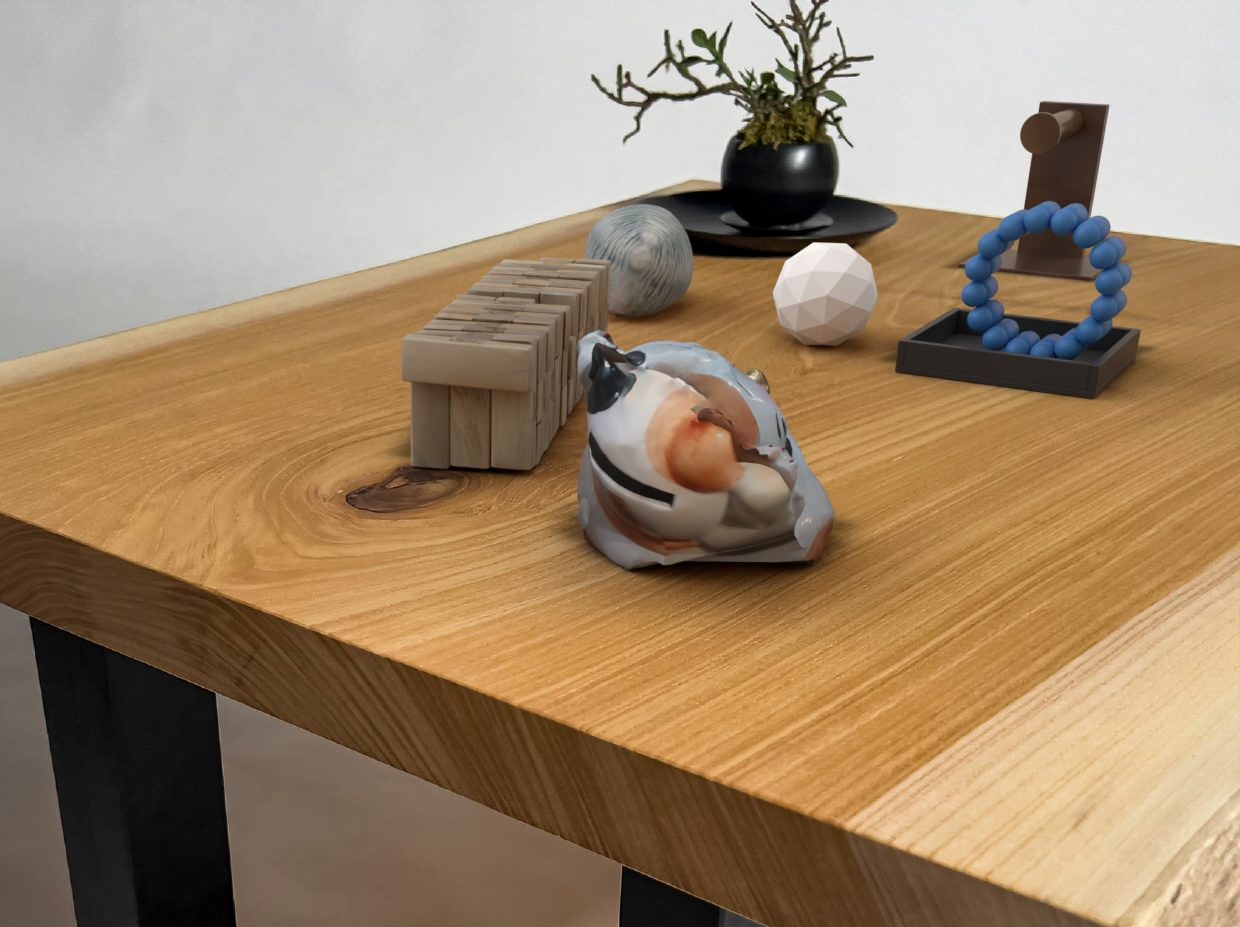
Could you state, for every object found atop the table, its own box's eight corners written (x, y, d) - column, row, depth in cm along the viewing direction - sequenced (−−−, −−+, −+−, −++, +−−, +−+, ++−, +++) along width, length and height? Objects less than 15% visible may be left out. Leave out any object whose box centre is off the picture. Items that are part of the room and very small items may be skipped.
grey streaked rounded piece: (584, 248, 143) (634, 151, 136) (676, 301, 143) (731, 207, 136) (542, 316, 133) (594, 216, 126) (642, 373, 134) (698, 276, 127)
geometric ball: (844, 379, 126) (911, 306, 120) (763, 351, 122) (827, 273, 117) (822, 313, 130) (885, 239, 124) (743, 283, 126) (804, 206, 121)
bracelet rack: (1114, 272, 151) (1144, 105, 144) (1084, 294, 142) (1115, 116, 135) (987, 259, 156) (1010, 98, 149) (951, 279, 147) (973, 108, 141)
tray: (1135, 359, 120) (1141, 329, 119) (1093, 399, 111) (1099, 365, 109) (949, 336, 127) (953, 307, 126) (894, 371, 117) (898, 340, 116)
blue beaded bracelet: (1099, 376, 118) (1159, 224, 112) (1083, 391, 115) (1144, 234, 109) (956, 329, 122) (1007, 180, 116) (937, 341, 119) (988, 188, 113)
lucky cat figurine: (885, 550, 83) (905, 345, 72) (715, 681, 80) (707, 487, 69) (688, 412, 91) (677, 206, 80) (526, 526, 88) (491, 329, 76)
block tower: (506, 371, 121) (397, 473, 95) (507, 255, 117) (394, 328, 91) (609, 377, 119) (527, 482, 93) (614, 259, 115) (529, 335, 90)
